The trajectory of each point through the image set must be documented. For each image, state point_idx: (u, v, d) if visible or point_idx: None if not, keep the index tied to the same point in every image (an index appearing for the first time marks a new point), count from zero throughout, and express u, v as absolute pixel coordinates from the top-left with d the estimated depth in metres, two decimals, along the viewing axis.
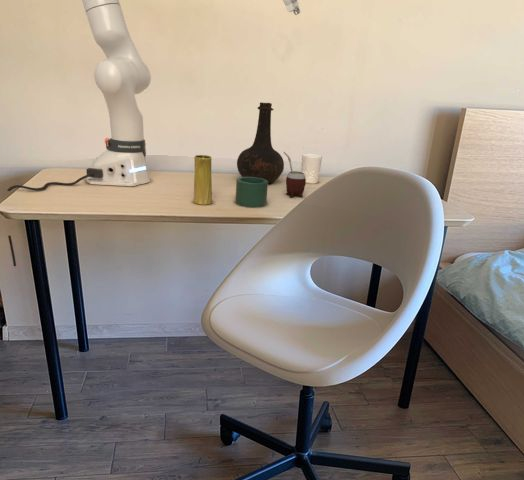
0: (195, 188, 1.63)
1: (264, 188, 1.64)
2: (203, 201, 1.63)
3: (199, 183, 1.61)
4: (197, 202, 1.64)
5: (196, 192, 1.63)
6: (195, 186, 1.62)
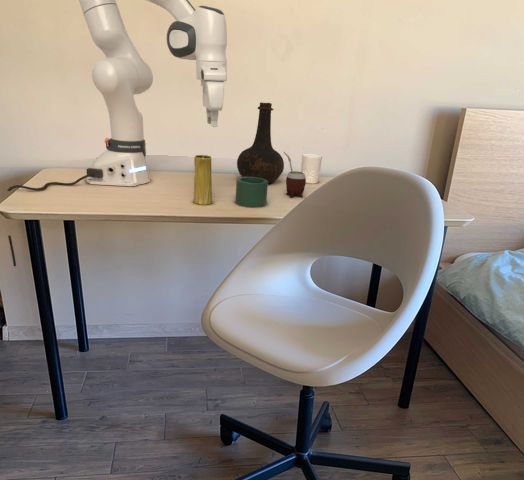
0: (195, 188, 1.63)
1: (264, 188, 1.64)
2: (203, 201, 1.63)
3: (199, 183, 1.61)
4: (197, 202, 1.64)
5: (196, 192, 1.63)
6: (195, 186, 1.62)
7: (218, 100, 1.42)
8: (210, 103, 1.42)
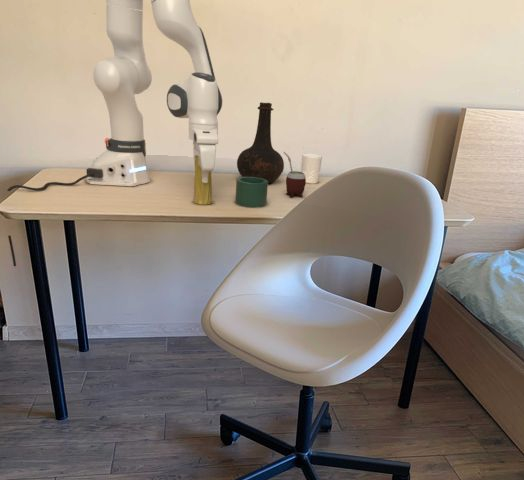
0: (195, 188, 1.63)
1: (264, 188, 1.64)
2: (203, 201, 1.63)
3: (199, 183, 1.61)
4: (197, 202, 1.64)
5: (196, 192, 1.63)
6: (195, 186, 1.62)
7: (210, 162, 1.51)
8: (202, 165, 1.51)
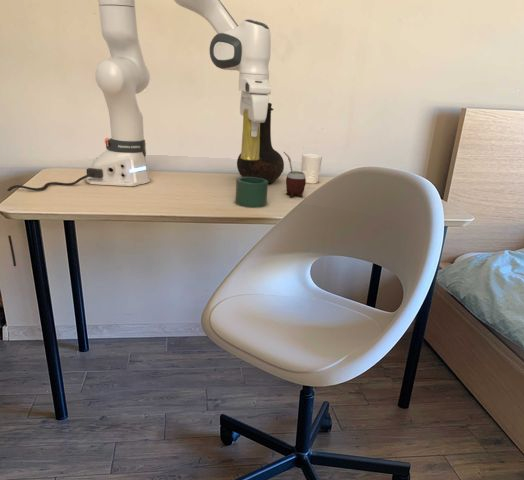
0: (243, 143, 1.59)
1: (264, 188, 1.64)
2: (251, 157, 1.59)
3: (248, 137, 1.57)
4: (245, 158, 1.60)
5: (244, 147, 1.59)
6: (243, 141, 1.58)
7: (262, 113, 1.47)
8: (254, 115, 1.47)
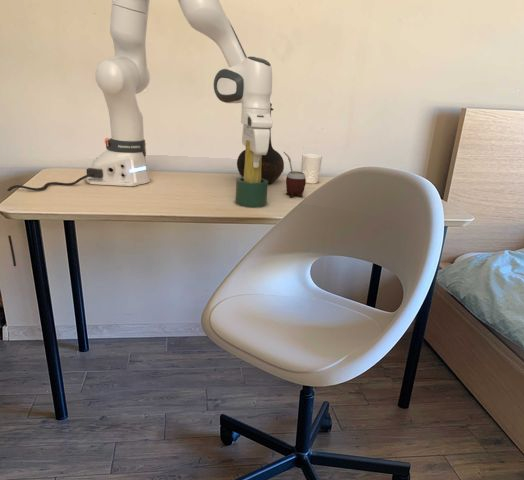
0: (245, 173, 1.63)
1: (264, 188, 1.64)
2: None
3: (250, 168, 1.62)
4: None
5: (246, 177, 1.63)
6: (245, 171, 1.63)
7: (264, 146, 1.52)
8: (256, 149, 1.51)
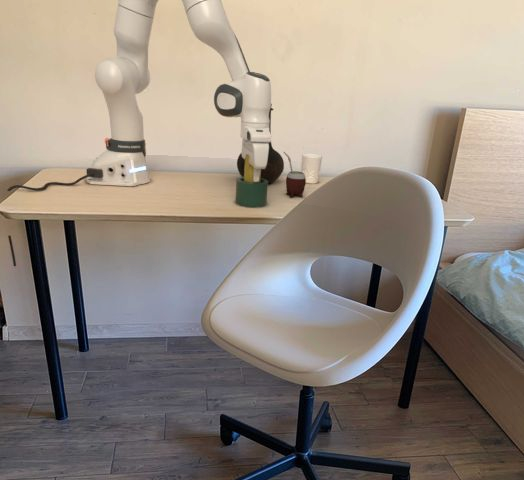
0: None
1: (264, 188, 1.64)
2: None
3: (249, 182, 1.64)
4: None
5: None
6: None
7: (263, 160, 1.54)
8: (255, 163, 1.53)
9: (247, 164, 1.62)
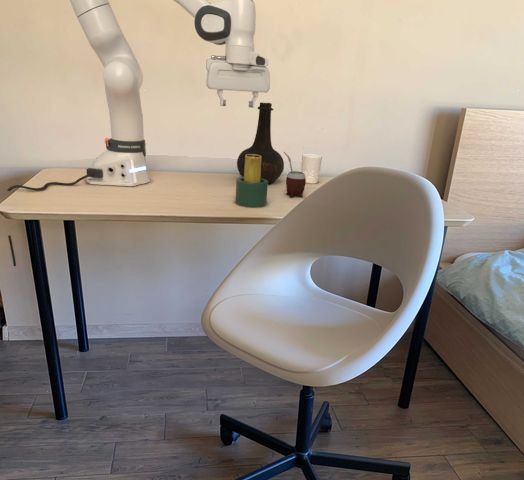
0: None
1: (264, 188, 1.64)
2: None
3: (249, 182, 1.64)
4: None
5: None
6: None
7: None
8: (269, 86, 1.63)
9: (247, 164, 1.62)
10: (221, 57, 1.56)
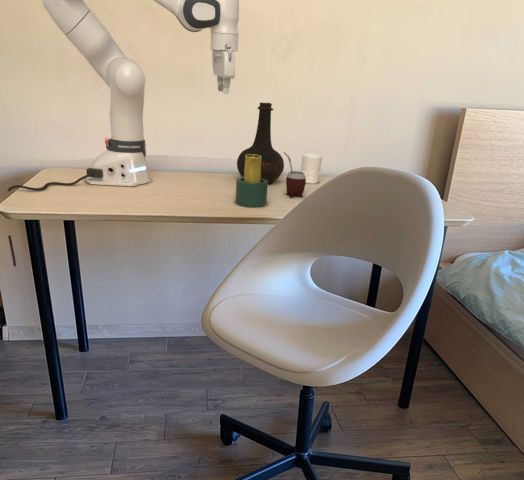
0: None
1: (264, 188, 1.64)
2: None
3: (249, 182, 1.64)
4: None
5: None
6: None
7: None
8: None
9: (247, 164, 1.62)
10: None
